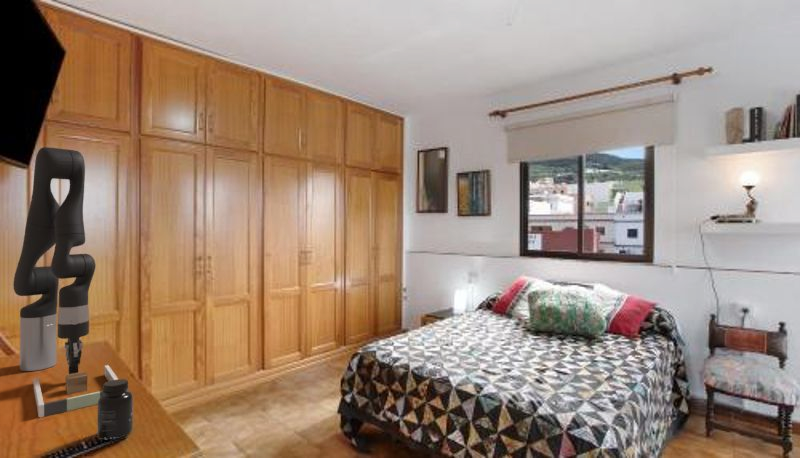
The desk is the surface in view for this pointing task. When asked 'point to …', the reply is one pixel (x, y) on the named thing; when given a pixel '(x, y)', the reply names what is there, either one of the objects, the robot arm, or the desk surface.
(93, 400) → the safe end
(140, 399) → the desk surface
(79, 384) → the walnut block
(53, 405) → the box
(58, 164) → the robot arm
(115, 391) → the supplement bottle
